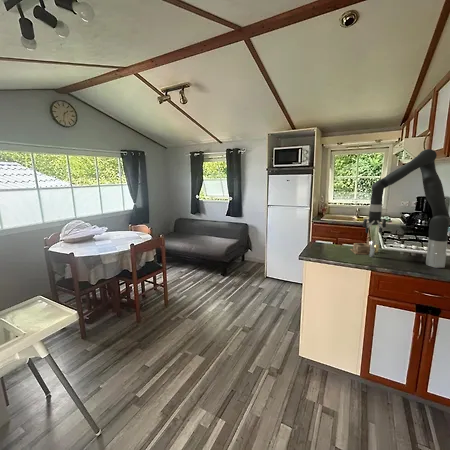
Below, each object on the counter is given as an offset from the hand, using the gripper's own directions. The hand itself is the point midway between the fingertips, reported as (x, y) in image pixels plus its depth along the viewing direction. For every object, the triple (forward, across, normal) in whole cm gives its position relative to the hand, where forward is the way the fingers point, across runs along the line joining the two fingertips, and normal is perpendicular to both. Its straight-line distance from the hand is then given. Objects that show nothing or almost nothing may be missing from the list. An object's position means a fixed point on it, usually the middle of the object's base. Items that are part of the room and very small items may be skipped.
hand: (373, 233), depth 181 cm
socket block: (+18, -3, +11) cm, 21 cm away
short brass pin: (+18, +7, +11) cm, 22 cm away
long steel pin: (+18, 0, 0) cm, 18 cm away
